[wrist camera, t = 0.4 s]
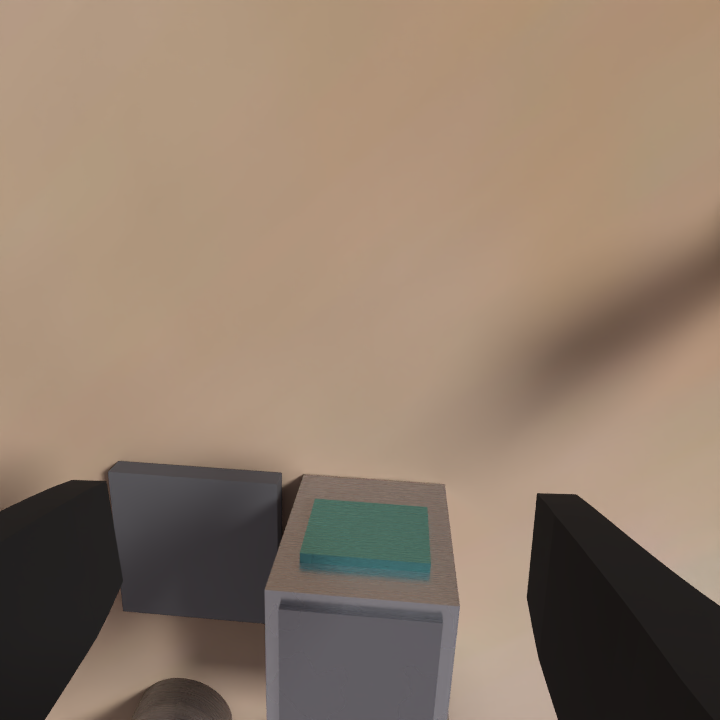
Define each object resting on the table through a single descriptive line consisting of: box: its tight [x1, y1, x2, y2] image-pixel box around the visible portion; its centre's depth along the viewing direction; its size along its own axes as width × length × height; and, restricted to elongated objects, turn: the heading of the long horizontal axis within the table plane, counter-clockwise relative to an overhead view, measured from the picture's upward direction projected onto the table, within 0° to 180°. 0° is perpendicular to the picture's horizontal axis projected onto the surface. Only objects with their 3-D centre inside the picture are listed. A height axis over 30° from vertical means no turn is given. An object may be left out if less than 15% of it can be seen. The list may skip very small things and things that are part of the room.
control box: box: [265, 474, 460, 720], centre depth 18 cm, size 6×5×6 cm
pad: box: [108, 461, 282, 624], centre depth 21 cm, size 6×6×1 cm
